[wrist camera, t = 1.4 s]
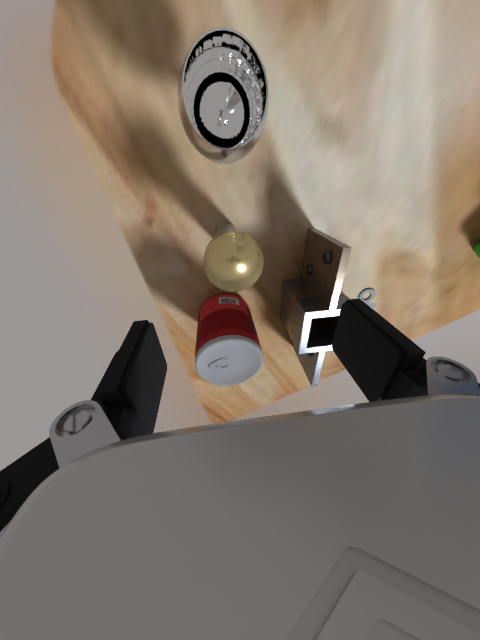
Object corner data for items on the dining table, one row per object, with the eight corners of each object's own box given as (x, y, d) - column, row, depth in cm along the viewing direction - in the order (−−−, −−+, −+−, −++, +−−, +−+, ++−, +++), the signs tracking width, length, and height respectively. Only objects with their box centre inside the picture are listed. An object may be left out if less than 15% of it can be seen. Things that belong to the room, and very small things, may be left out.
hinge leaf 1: (317, 312, 36) (345, 348, 28) (280, 316, 35) (298, 354, 28) (334, 226, 28) (379, 245, 21) (286, 229, 28) (314, 250, 20)
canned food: (188, 309, 33) (179, 361, 23) (231, 281, 31) (240, 326, 22) (218, 340, 37) (220, 395, 28) (258, 316, 35) (274, 367, 26)
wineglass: (182, 150, 22) (160, 131, 12) (199, 75, 19) (187, -29, 9) (234, 176, 24) (251, 179, 14) (256, 111, 21) (297, 56, 11)
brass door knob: (203, 214, 25) (199, 235, 17) (246, 211, 26) (264, 230, 17) (208, 257, 28) (207, 294, 20) (247, 254, 29) (263, 289, 20)
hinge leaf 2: (282, 280, 31) (305, 312, 24) (324, 276, 32) (359, 307, 25) (277, 347, 39) (293, 388, 32) (311, 344, 40) (334, 383, 32)
